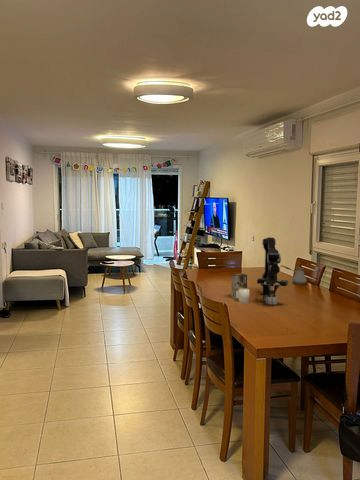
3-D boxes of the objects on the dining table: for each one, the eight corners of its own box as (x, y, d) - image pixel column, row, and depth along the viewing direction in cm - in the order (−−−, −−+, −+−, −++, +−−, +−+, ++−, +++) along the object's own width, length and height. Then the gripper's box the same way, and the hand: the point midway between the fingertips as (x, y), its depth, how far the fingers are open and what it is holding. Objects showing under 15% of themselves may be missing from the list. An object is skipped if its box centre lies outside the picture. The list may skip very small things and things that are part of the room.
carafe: (264, 301, 272) (264, 293, 271) (278, 303, 267) (279, 295, 267) (261, 304, 265) (261, 295, 265) (275, 306, 261) (276, 297, 260)
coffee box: (243, 296, 286) (243, 273, 285) (247, 298, 280) (247, 275, 278) (230, 296, 284) (231, 273, 282) (234, 299, 278) (235, 275, 276)
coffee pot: (304, 282, 336) (305, 264, 334) (308, 285, 324) (309, 266, 323) (278, 282, 336) (278, 263, 335) (281, 285, 325) (281, 266, 324)
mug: (237, 299, 278) (237, 287, 277) (250, 300, 274) (250, 289, 273) (234, 301, 271) (234, 289, 271) (247, 303, 267) (247, 291, 267)
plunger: (269, 301, 269) (269, 289, 268) (276, 301, 267) (276, 289, 266) (267, 302, 265) (267, 290, 264) (274, 303, 263) (274, 291, 262)
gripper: (254, 271, 261) (254, 296, 262) (284, 274, 252) (283, 299, 254) (259, 269, 271) (259, 292, 272) (288, 271, 262) (287, 295, 264)
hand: (271, 295), depth 265 cm, fingers closed on plunger, 2 cm apart
